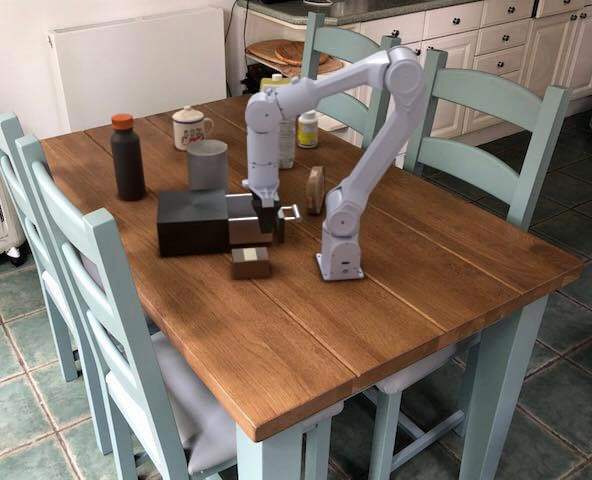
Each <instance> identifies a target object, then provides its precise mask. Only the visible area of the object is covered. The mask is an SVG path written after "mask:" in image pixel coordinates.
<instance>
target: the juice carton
mask: <svg viewBox="0 0 592 480" xmlns="http://www.w3.org/2000/svg"><path fill="white" fill-rule="evenodd" d="M271 75H272V76H271V78H270V77H269V78H268V77H267V78H266V77H263V78H261V80H260V86H259V92H264V93H266V90H267V89H269V88H272V90H274V89H276V88H279V87H281V86H284V85H286V84H289V83H291V79H292V78H293V77H286V78H285V77H283V74H280V73H273V74H271ZM259 92H258V93H259ZM296 117H297V116H295V117H293V118H290V119H287V120H285V121H279V122H278V123H277V134H278V169H292V168H293V164H294V160H295V155H296V119H297V118H296Z"/></svg>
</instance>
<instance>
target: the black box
mask: <svg viewBox="0 0 592 480" xmlns="http://www.w3.org/2000/svg"><path fill="white" fill-rule="evenodd" d="M156 230H157V231H156V232H157V240H158V248H159V257H160V258H166V257H181V256H182V257H183V256H195V255H197V256H198V255H211V254H227V253H228V254H229V253H231V244H230V239H229V218H228V211H227V203H226V195H225V188H216V189H198V190H189V189H183V190H181V189H179V190H168V191H167V190H164V191H158V194H157V211H156Z"/></svg>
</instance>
